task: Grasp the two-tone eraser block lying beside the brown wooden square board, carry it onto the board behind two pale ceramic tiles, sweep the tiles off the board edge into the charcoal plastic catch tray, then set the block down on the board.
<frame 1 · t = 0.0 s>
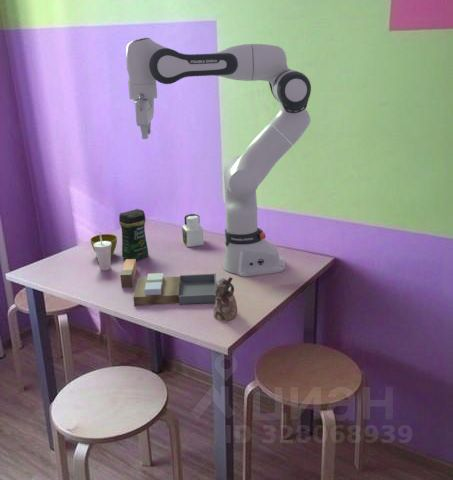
hand: (146, 136, 171), 48 cm above the table, fingers open, 8 cm apart
brown wooden square board: (158, 294, 169), on the table
flower pot: (105, 256, 203), on the table
tray: (198, 292, 170), on the table
two-tone eraser block: (129, 278, 182), on the table
medicine bottle: (193, 243, 213), on the table
figurine: (225, 316, 155), on the table
smoothie: (105, 269, 191), on the table
coffee jar: (135, 257, 201), on the table
tile b: (153, 291, 165), point 3 cm above the table, touching brown wooden square board
tile a: (155, 282, 172), point 3 cm above the table, touching brown wooden square board
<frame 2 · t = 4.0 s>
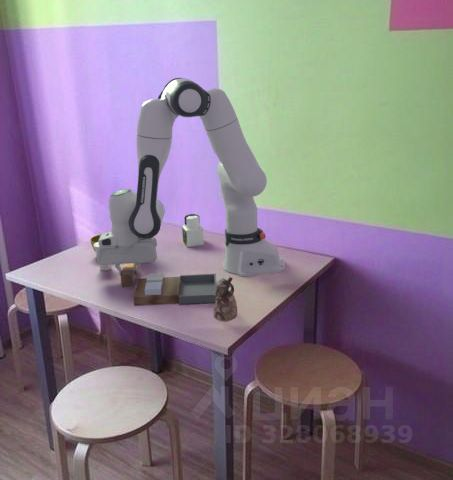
hand: (129, 274, 181), 2 cm above the table, fingers closed on two-tone eraser block, 3 cm apart
two-tone eraser block: (129, 278, 182), on the table, touching gripper
everything else where it was.
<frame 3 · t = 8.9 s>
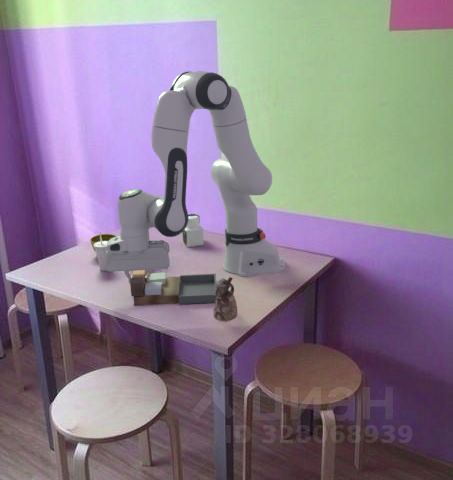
hand: (139, 281, 168), 5 cm above the table, fingers closed on two-tone eraser block, 3 cm apart
two-tone eraser block: (139, 286, 168), point 3 cm above the table, touching gripper
tile a: (158, 281, 172), point 3 cm above the table
everything else where it was.
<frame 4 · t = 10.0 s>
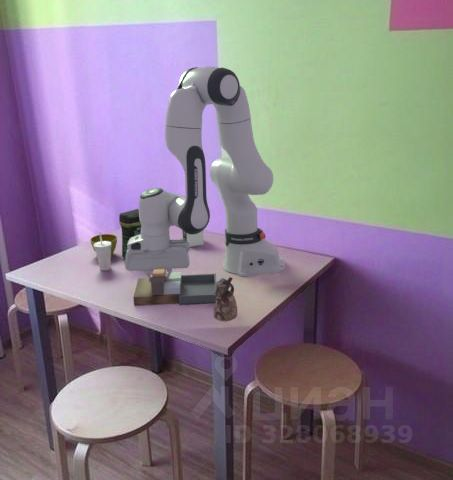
hand: (159, 280, 168), 5 cm above the table, fingers closed on two-tone eraser block, 3 cm apart
two-tone eraser block: (159, 285, 168), point 3 cm above the table, touching gripper
tile b: (172, 290, 165), point 3 cm above the table
tile a: (173, 280, 172), point 3 cm above the table, touching brown wooden square board
everything else where it was.
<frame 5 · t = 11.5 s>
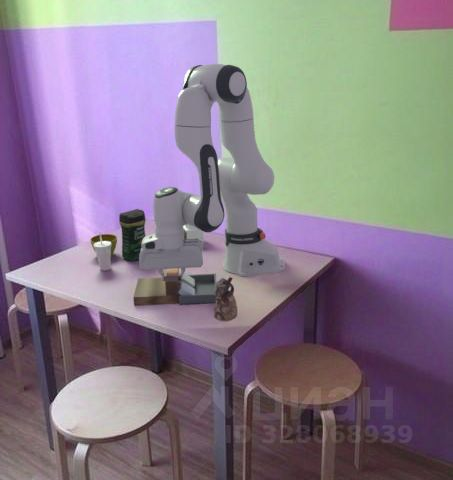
hand: (172, 280, 168), 5 cm above the table, fingers closed on two-tone eraser block, 3 cm apart
two-tone eraser block: (172, 284, 168), point 3 cm above the table, touching gripper, tile a, tile b
tile b: (184, 293, 165), point 2 cm above the table, tilted 37°, touching two-tone eraser block, tray
tile a: (185, 283, 172), point 2 cm above the table, tilted 37°, touching two-tone eraser block, tray
everything else where it was.
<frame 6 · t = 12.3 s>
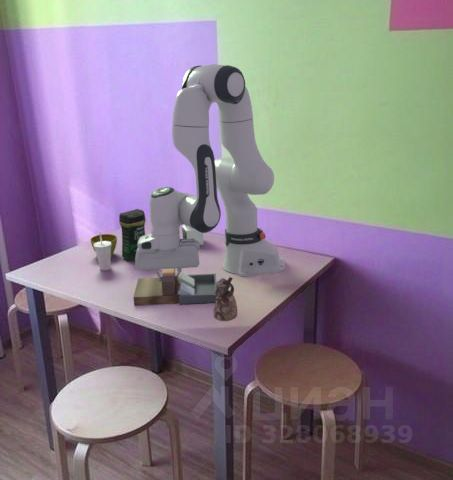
hand: (168, 280, 168), 5 cm above the table, fingers closed on two-tone eraser block, 3 cm apart
two-tone eraser block: (169, 284, 168), point 3 cm above the table, touching gripper
tile b: (184, 293, 165), point 2 cm above the table, tilted 34°, touching brown wooden square board, tray
tile a: (184, 283, 172), point 2 cm above the table, tilted 34°, touching brown wooden square board, tray
everything else where it was.
when the fingers open (5 cm above the table, at t = 12.8 s): two-tone eraser block stays where it is, resting on brown wooden square board.
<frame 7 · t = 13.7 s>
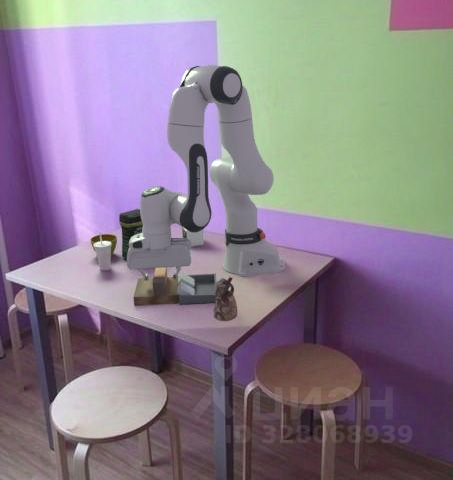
hand: (161, 279, 168), 5 cm above the table, fingers open, 8 cm apart
two-tone eraser block: (160, 286, 168), point 3 cm above the table, touching brown wooden square board
everything else where it was.
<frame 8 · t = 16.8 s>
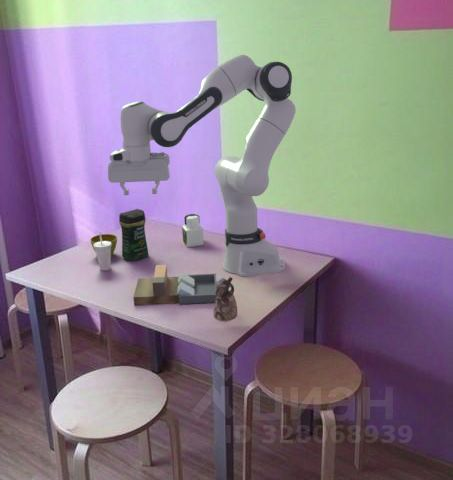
hand: (140, 194, 176), 29 cm above the table, fingers open, 8 cm apart
nothing on the table moved.
at the end: tile a inside the target area (5.7 cm from its centre), point 1.9 cm above the table; tile b inside the target area (5.9 cm from its centre), point 1.9 cm above the table; the gripper is holding nothing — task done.
